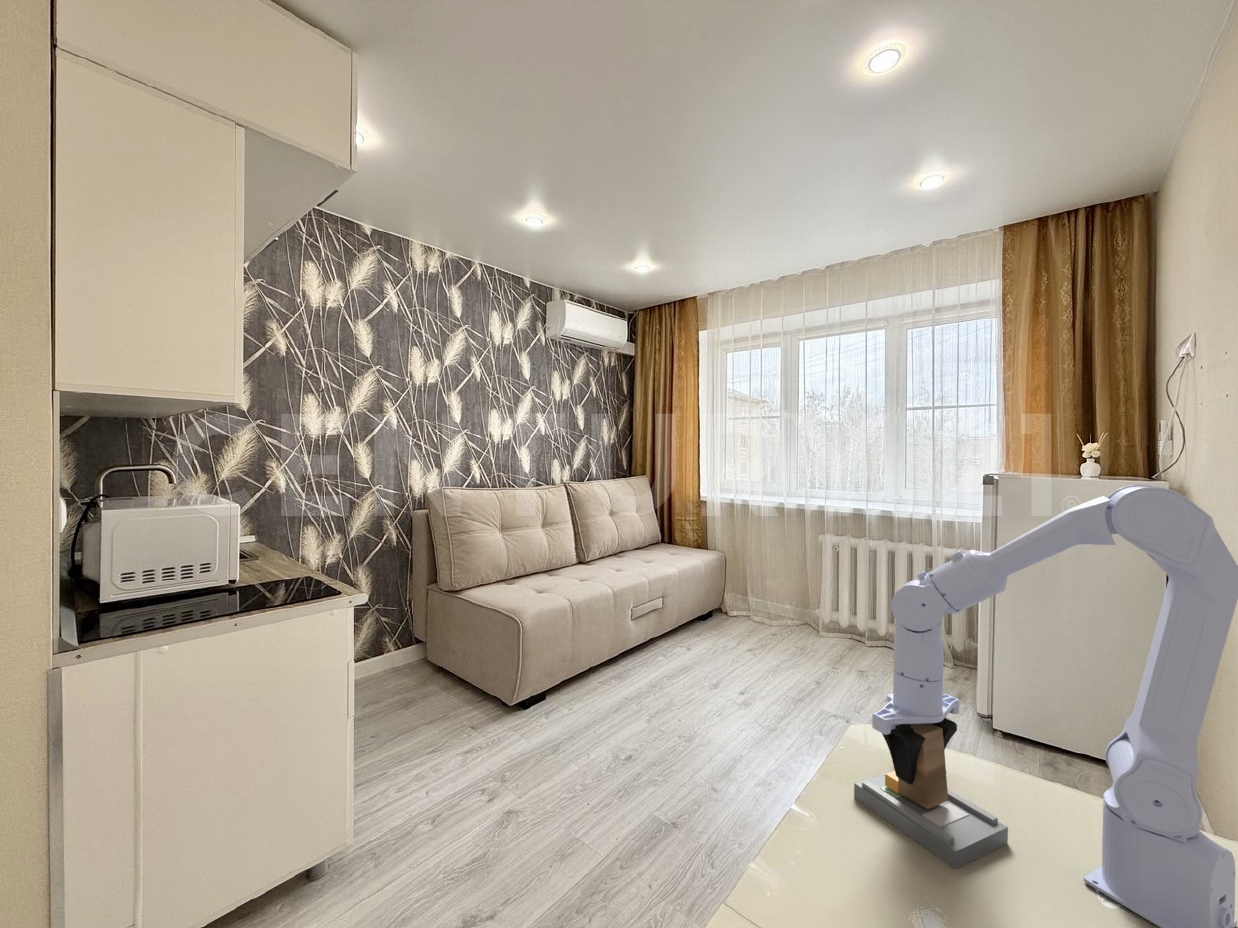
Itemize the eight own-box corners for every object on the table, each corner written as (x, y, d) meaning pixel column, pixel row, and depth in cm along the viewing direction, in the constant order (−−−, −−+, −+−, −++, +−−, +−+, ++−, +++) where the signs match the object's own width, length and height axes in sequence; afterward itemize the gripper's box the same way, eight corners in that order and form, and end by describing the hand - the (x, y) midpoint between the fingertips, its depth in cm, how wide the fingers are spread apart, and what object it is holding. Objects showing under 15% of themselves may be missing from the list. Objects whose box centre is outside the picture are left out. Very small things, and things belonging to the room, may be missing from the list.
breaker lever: (918, 786, 72) (918, 774, 72) (898, 793, 70) (898, 781, 70) (904, 778, 74) (905, 766, 74) (885, 785, 72) (885, 773, 72)
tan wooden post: (948, 800, 68) (942, 728, 69) (927, 808, 66) (922, 734, 67) (919, 786, 72) (914, 717, 73) (899, 793, 70) (894, 723, 71)
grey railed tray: (1007, 843, 65) (1008, 822, 64) (955, 868, 60) (955, 846, 60) (903, 779, 77) (903, 762, 77) (854, 797, 73) (854, 778, 73)
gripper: (925, 654, 77) (924, 748, 77) (853, 670, 71) (851, 771, 71) (975, 672, 70) (974, 774, 70) (901, 691, 64) (899, 802, 64)
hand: (916, 775), depth 70 cm, fingers closed on tan wooden post, 4 cm apart
